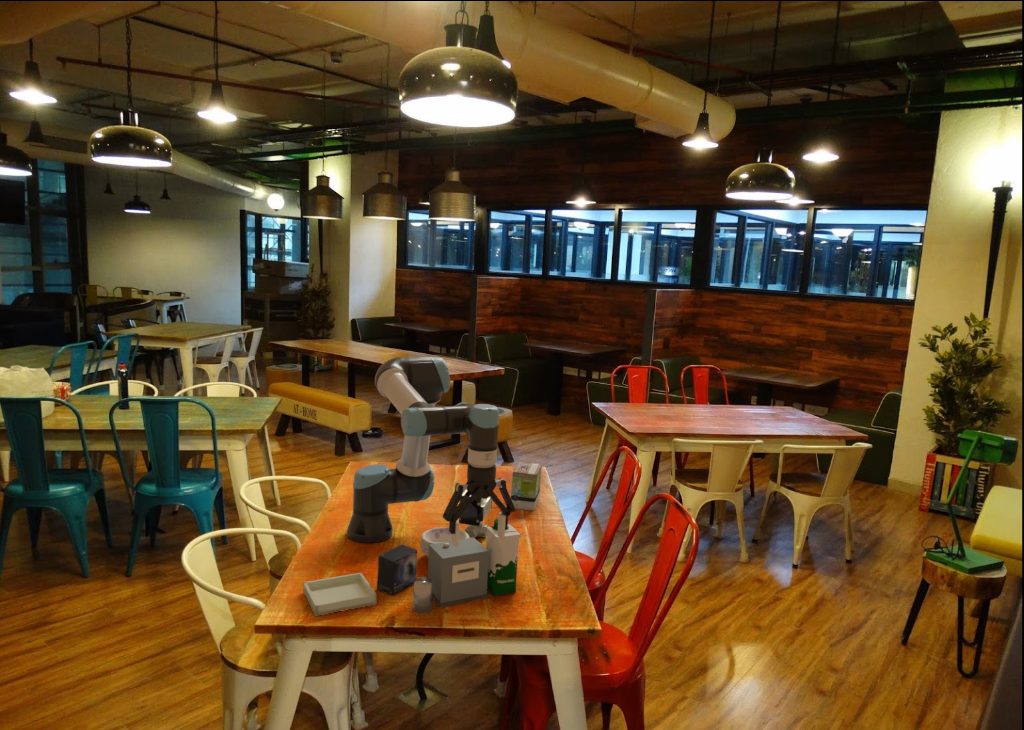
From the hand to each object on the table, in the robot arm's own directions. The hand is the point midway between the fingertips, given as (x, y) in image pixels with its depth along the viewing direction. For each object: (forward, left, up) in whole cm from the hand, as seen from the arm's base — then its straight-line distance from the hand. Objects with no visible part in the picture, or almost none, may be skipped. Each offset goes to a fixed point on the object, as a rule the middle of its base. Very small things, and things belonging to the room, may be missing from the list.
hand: (478, 541), depth 186 cm
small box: (-23, -14, -21) cm, 34 cm away
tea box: (-70, +56, -21) cm, 92 cm away
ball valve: (-48, +23, -21) cm, 57 cm away
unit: (-12, 0, -21) cm, 24 cm away
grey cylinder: (-8, -12, -21) cm, 25 cm away
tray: (-22, -31, -21) cm, 43 cm away
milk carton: (-10, +13, -21) cm, 27 cm away
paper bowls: (-35, +6, -21) cm, 41 cm away
